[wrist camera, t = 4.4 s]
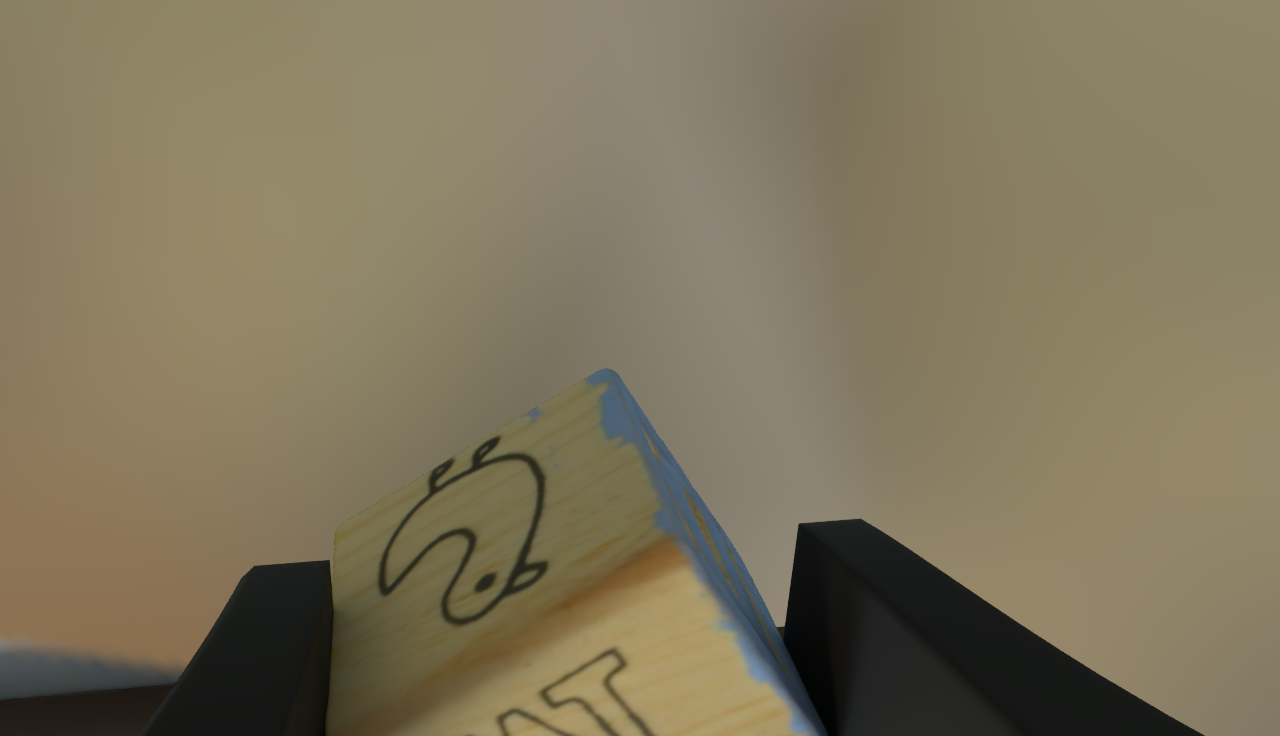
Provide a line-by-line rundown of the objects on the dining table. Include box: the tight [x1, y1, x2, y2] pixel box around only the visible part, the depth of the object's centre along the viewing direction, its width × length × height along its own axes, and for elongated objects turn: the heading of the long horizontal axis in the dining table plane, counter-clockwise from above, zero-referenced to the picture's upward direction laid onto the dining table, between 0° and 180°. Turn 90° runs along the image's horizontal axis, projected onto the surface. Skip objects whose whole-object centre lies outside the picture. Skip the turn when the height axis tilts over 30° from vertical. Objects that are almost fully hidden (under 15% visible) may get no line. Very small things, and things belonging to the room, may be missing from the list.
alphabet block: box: [325, 369, 828, 736], centre depth 10 cm, size 3×3×3 cm
